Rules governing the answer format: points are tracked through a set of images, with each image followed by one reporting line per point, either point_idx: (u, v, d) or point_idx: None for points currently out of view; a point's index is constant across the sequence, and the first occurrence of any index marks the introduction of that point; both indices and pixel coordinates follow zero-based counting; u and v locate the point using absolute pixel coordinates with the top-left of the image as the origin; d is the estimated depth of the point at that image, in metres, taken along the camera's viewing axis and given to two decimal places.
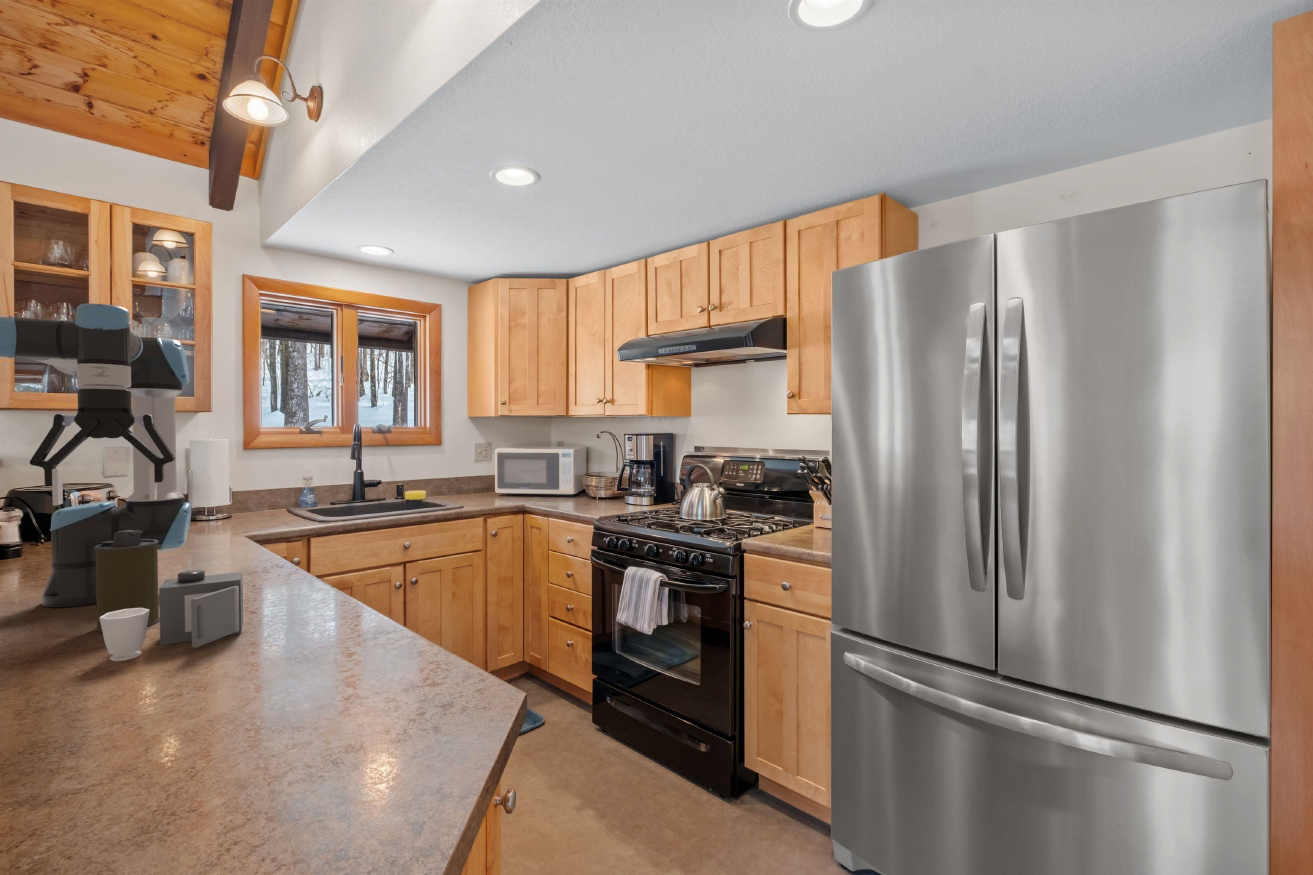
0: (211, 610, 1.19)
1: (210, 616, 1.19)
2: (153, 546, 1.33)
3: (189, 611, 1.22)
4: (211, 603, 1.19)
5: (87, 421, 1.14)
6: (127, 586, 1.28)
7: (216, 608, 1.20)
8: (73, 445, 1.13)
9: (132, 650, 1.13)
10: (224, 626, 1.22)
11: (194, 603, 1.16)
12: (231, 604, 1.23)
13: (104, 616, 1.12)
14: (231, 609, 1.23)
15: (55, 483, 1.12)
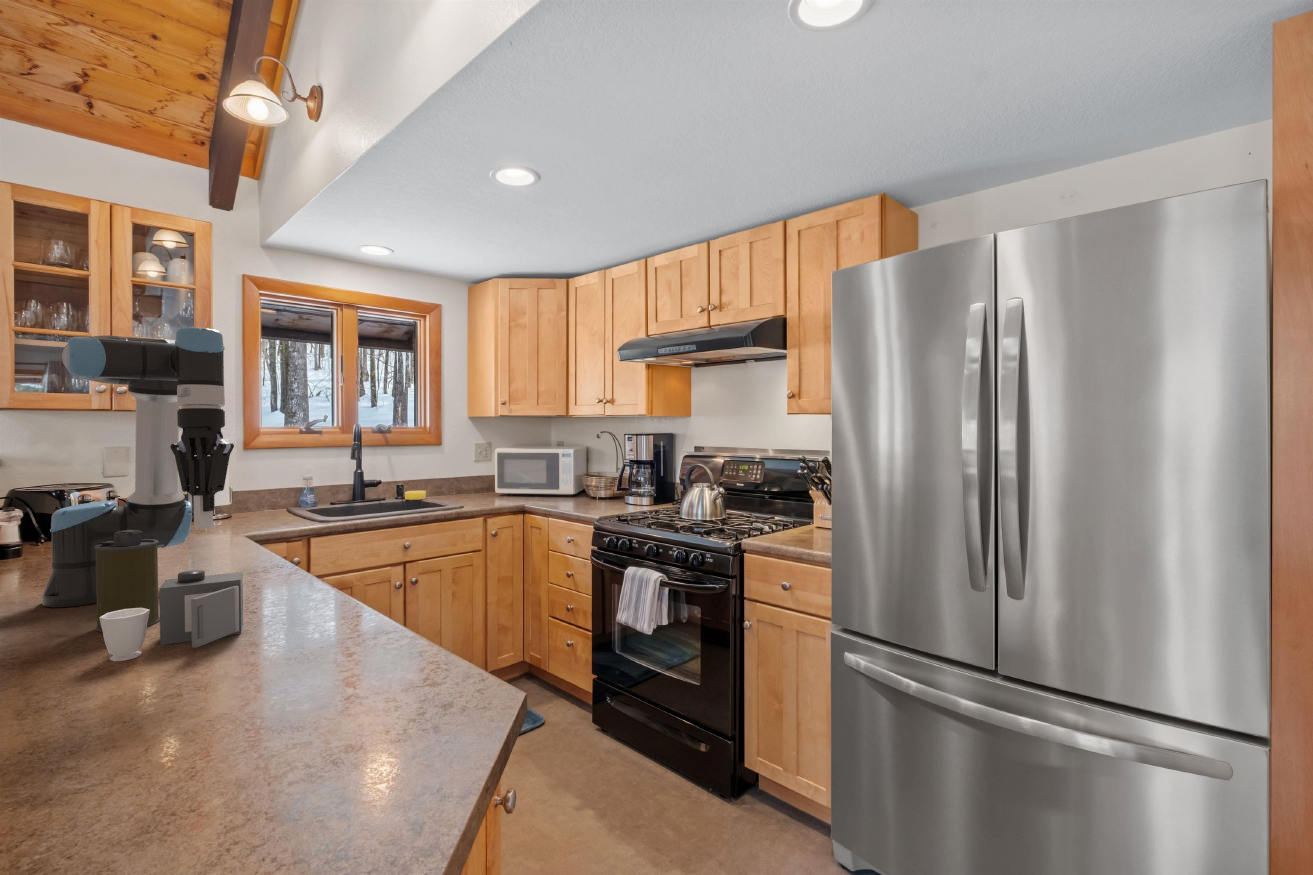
0: (211, 610, 1.19)
1: (210, 616, 1.19)
2: (153, 546, 1.33)
3: (189, 611, 1.22)
4: (211, 603, 1.19)
5: (187, 436, 1.21)
6: (127, 586, 1.28)
7: (216, 608, 1.20)
8: (192, 466, 1.21)
9: (132, 650, 1.13)
10: (224, 626, 1.22)
11: (194, 603, 1.16)
12: (231, 604, 1.23)
13: (104, 616, 1.13)
14: (231, 609, 1.23)
15: (195, 509, 1.21)
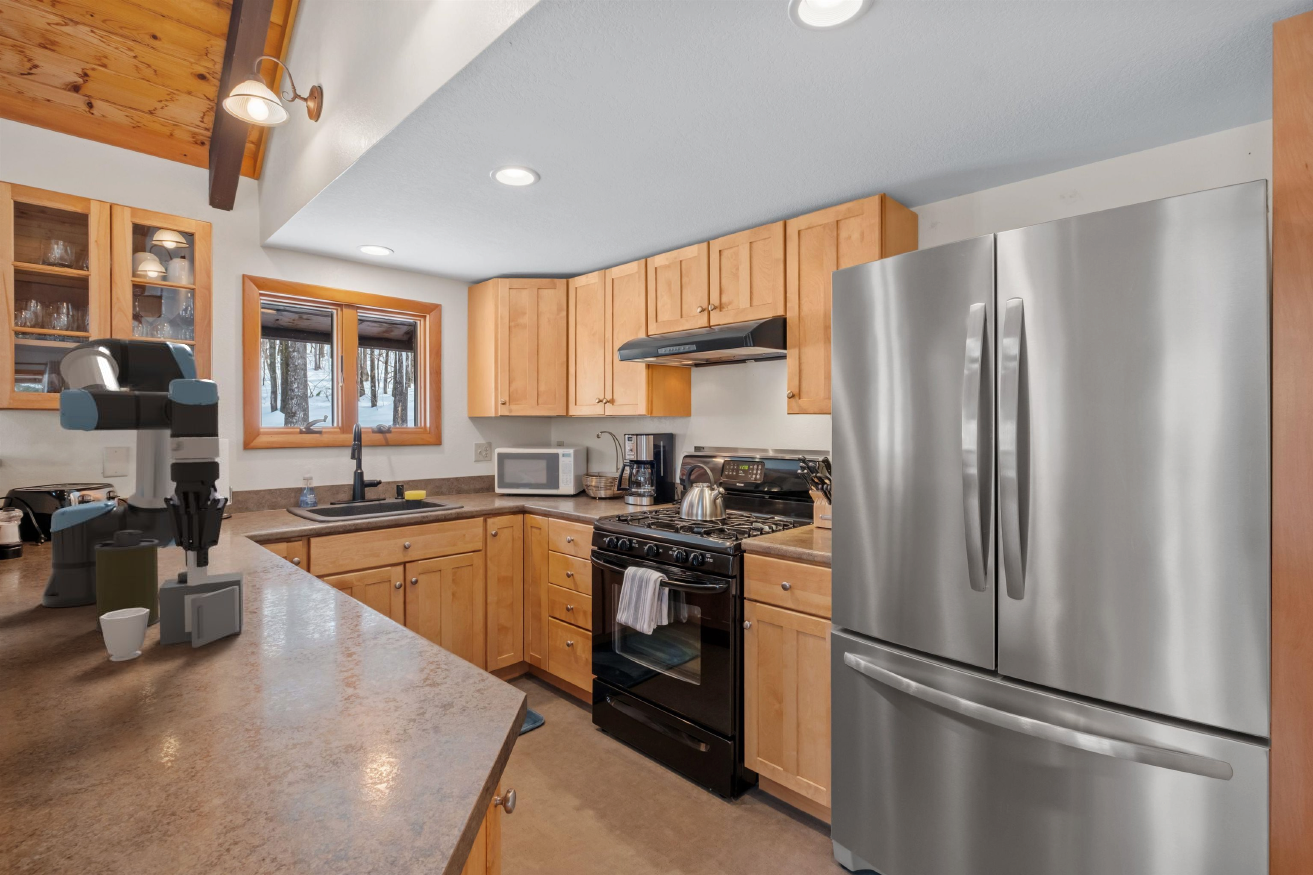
0: (211, 610, 1.19)
1: (210, 616, 1.19)
2: (153, 546, 1.33)
3: (189, 611, 1.22)
4: (211, 603, 1.19)
5: (180, 490, 1.18)
6: (127, 586, 1.28)
7: (216, 608, 1.20)
8: (186, 521, 1.18)
9: (132, 650, 1.13)
10: (224, 626, 1.22)
11: (194, 603, 1.16)
12: (231, 604, 1.23)
13: (104, 616, 1.13)
14: (231, 609, 1.23)
15: (188, 564, 1.18)
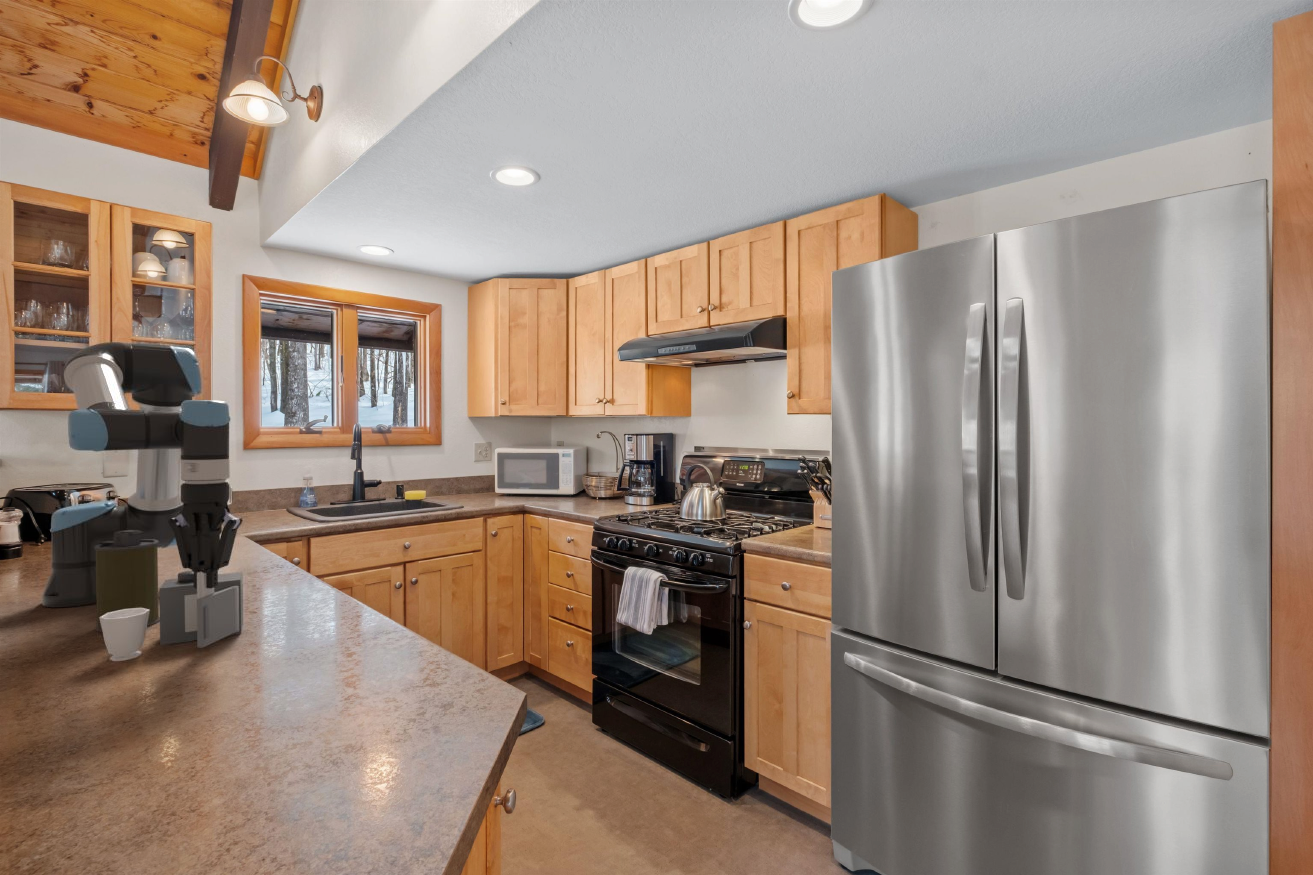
0: (215, 610, 1.19)
1: (214, 616, 1.19)
2: (153, 546, 1.33)
3: (189, 611, 1.22)
4: (215, 603, 1.19)
5: (189, 511, 1.17)
6: (127, 586, 1.28)
7: (219, 608, 1.20)
8: (196, 542, 1.17)
9: (132, 650, 1.13)
10: (226, 626, 1.22)
11: (200, 603, 1.16)
12: (232, 604, 1.23)
13: (104, 616, 1.13)
14: (232, 609, 1.23)
15: (199, 586, 1.17)
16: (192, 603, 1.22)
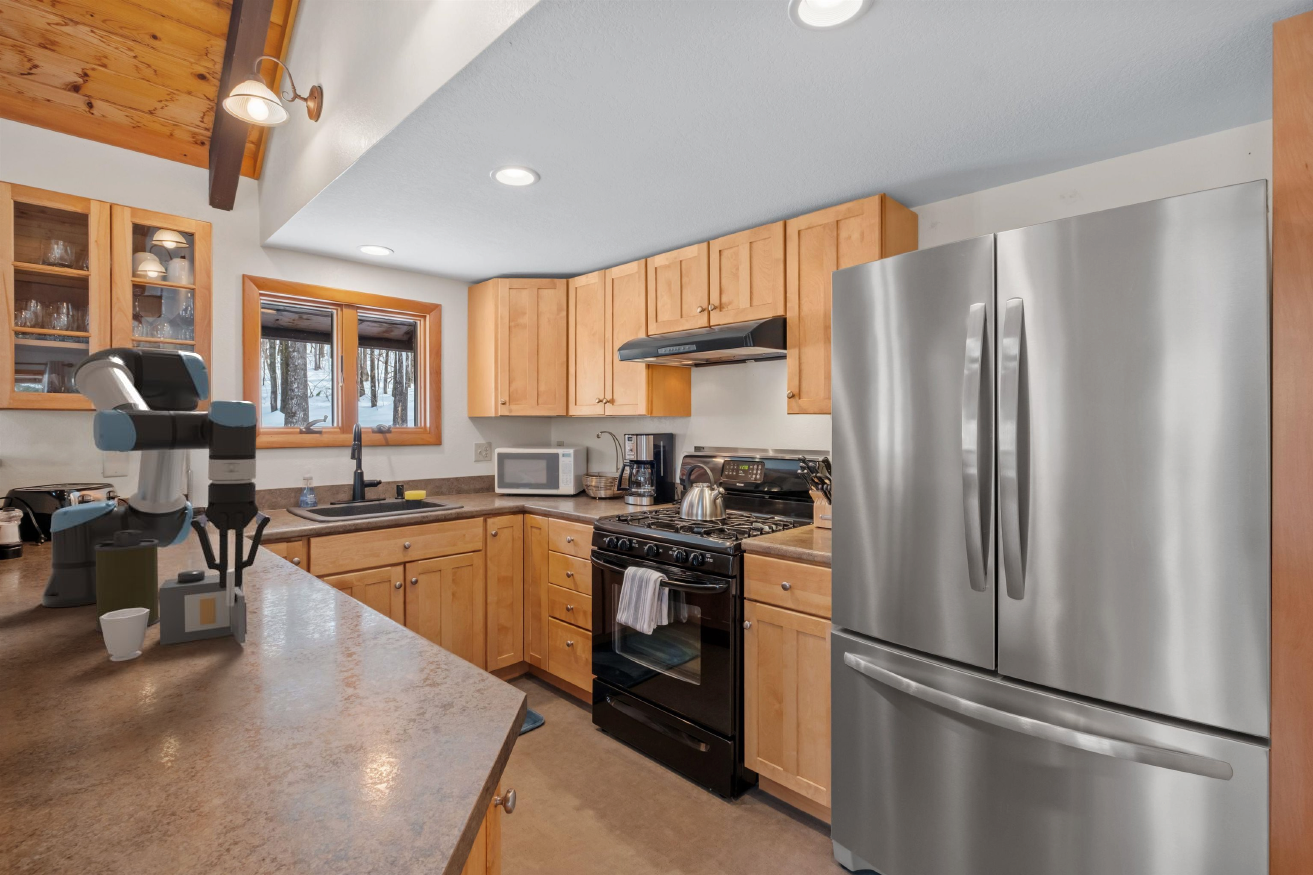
0: None
1: None
2: (153, 546, 1.33)
3: (189, 611, 1.22)
4: None
5: (217, 511, 1.17)
6: (127, 586, 1.28)
7: None
8: (225, 542, 1.18)
9: (132, 650, 1.13)
10: None
11: (242, 599, 1.18)
12: None
13: (104, 616, 1.13)
14: None
15: (229, 585, 1.18)
16: (192, 603, 1.22)
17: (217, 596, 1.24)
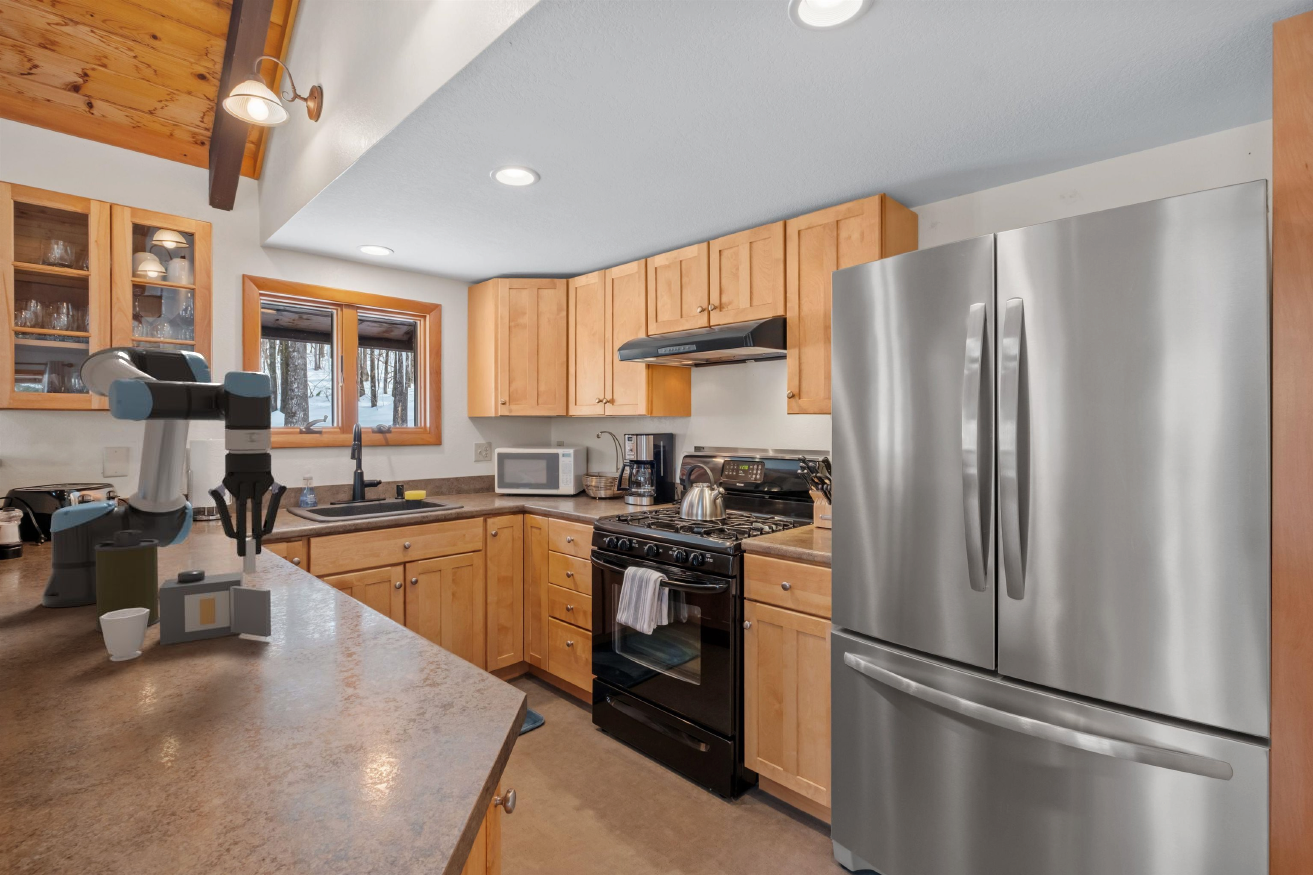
0: None
1: None
2: (153, 546, 1.33)
3: (189, 611, 1.22)
4: None
5: (236, 481, 1.19)
6: (127, 586, 1.28)
7: None
8: (245, 511, 1.20)
9: (132, 650, 1.13)
10: None
11: (268, 594, 1.22)
12: None
13: (104, 616, 1.13)
14: None
15: (249, 553, 1.20)
16: (192, 603, 1.22)
17: (217, 596, 1.24)
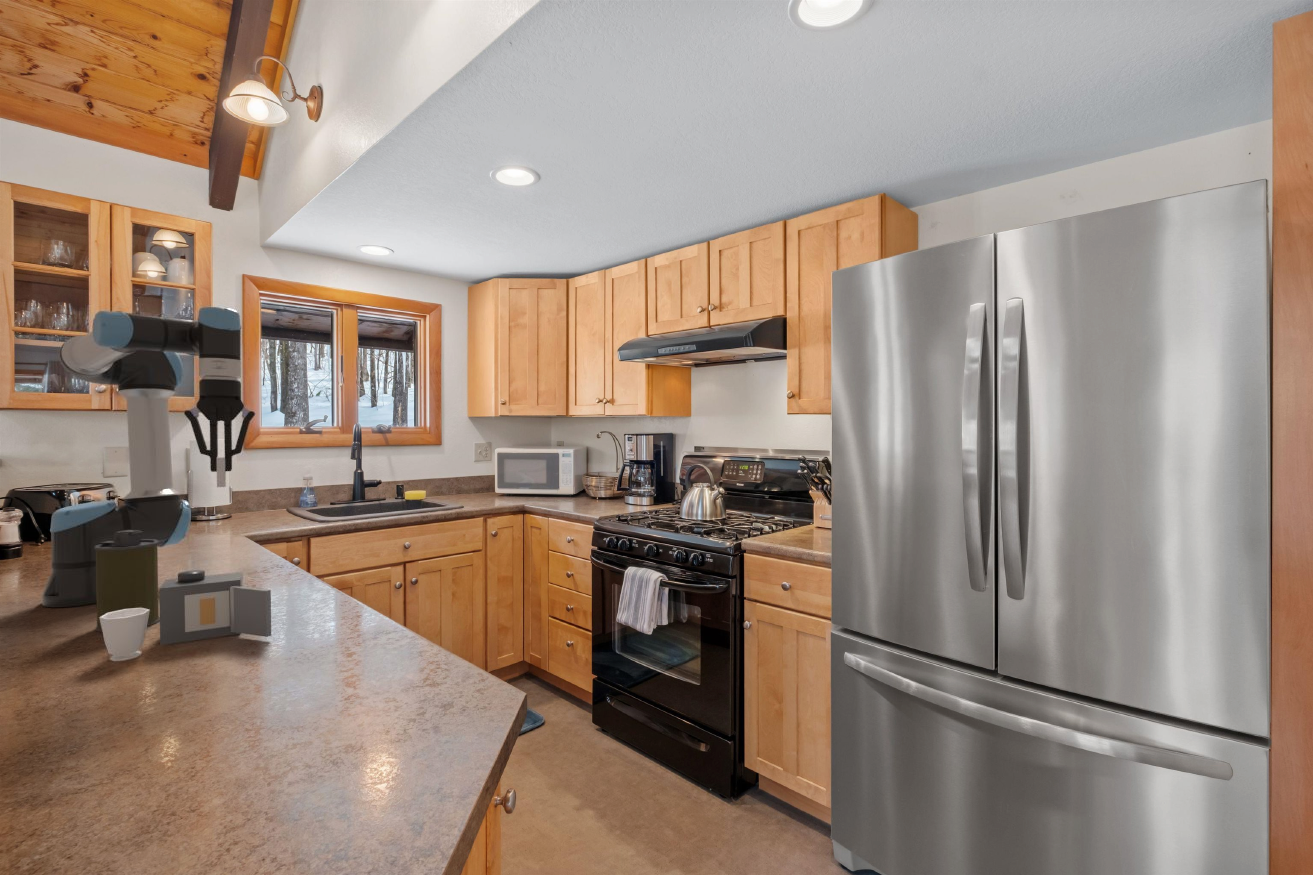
0: None
1: None
2: (153, 546, 1.33)
3: (189, 611, 1.22)
4: None
5: (207, 404, 1.34)
6: (127, 586, 1.28)
7: None
8: (215, 431, 1.35)
9: (132, 650, 1.13)
10: None
11: (269, 594, 1.22)
12: None
13: (104, 616, 1.12)
14: None
15: (219, 469, 1.35)
16: (192, 603, 1.22)
17: (217, 596, 1.24)
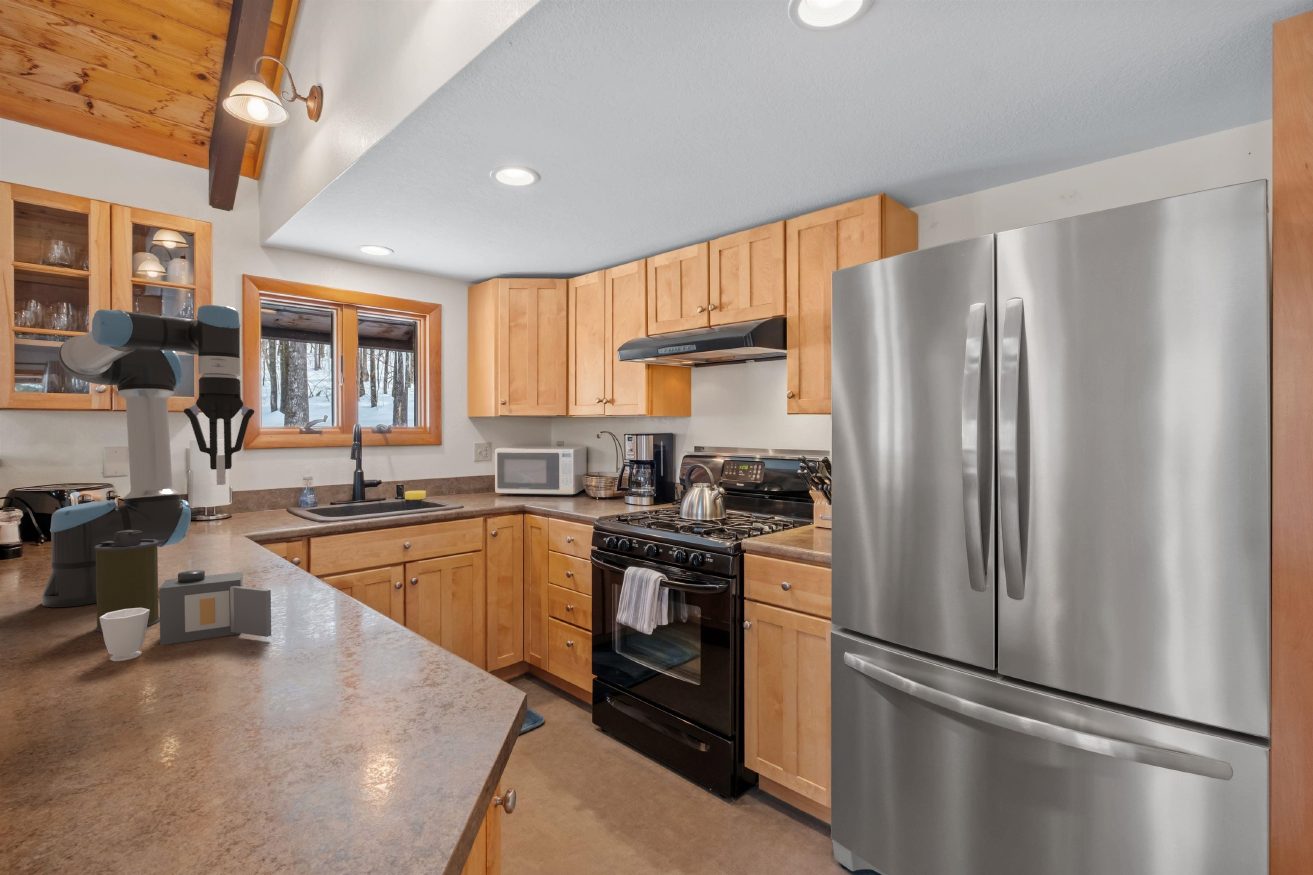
0: None
1: None
2: (153, 546, 1.33)
3: (189, 611, 1.22)
4: None
5: (207, 402, 1.35)
6: (127, 586, 1.28)
7: None
8: (214, 429, 1.35)
9: (132, 650, 1.13)
10: None
11: (269, 594, 1.22)
12: None
13: (104, 616, 1.13)
14: None
15: (218, 467, 1.36)
16: (192, 603, 1.22)
17: (217, 596, 1.24)
